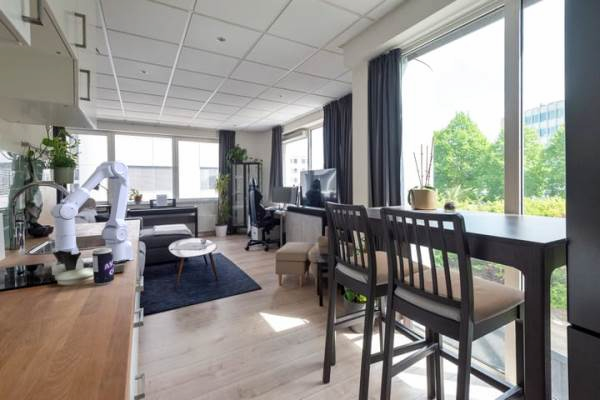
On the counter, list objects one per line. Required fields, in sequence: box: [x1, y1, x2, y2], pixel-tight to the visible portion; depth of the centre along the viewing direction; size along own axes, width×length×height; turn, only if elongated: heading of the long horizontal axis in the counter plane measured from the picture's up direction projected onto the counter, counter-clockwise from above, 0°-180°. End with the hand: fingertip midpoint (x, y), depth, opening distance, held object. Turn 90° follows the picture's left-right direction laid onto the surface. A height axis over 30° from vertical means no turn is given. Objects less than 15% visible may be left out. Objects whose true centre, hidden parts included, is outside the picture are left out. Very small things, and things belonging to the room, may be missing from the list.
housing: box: [51, 257, 85, 276], centre depth 105 cm, size 8×5×5 cm, turn 149°
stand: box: [54, 267, 94, 286], centre depth 99 cm, size 12×12×2 cm
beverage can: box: [91, 246, 115, 286], centre depth 95 cm, size 6×6×12 cm
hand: (68, 270), depth 105 cm, fingers closed on housing, 5 cm apart
